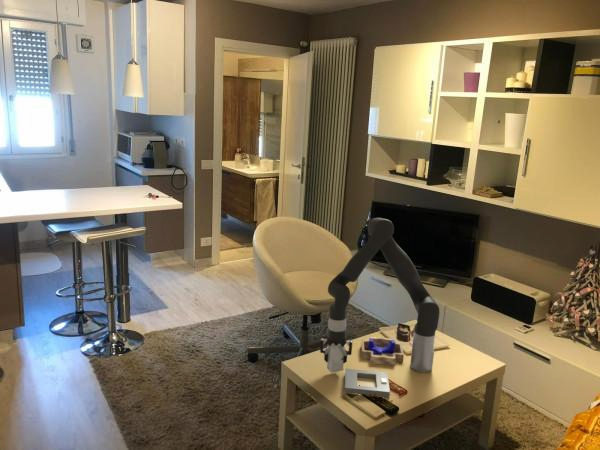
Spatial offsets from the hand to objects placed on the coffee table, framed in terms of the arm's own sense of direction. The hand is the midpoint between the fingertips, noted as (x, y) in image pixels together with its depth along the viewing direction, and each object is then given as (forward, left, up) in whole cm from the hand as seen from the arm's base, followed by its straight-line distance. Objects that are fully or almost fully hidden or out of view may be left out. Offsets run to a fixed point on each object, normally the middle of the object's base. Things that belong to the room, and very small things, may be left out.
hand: (335, 361), depth 217 cm
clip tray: (-22, -21, -6) cm, 31 cm away
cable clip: (-21, -23, -6) cm, 32 cm away
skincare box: (0, 0, -4) cm, 4 cm away
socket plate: (-14, +8, -6) cm, 17 cm away
